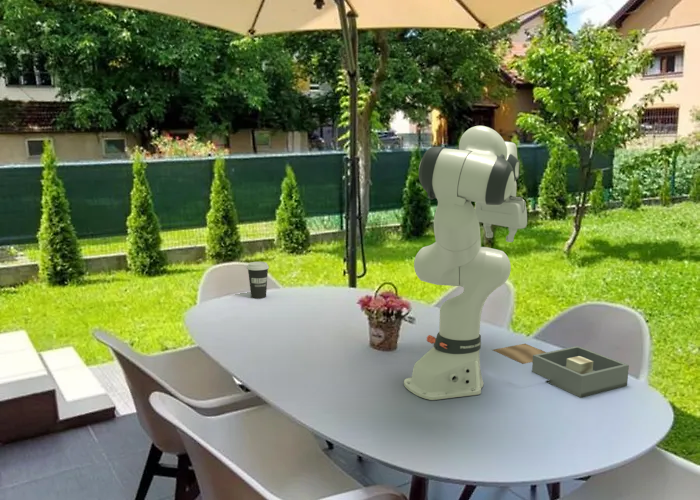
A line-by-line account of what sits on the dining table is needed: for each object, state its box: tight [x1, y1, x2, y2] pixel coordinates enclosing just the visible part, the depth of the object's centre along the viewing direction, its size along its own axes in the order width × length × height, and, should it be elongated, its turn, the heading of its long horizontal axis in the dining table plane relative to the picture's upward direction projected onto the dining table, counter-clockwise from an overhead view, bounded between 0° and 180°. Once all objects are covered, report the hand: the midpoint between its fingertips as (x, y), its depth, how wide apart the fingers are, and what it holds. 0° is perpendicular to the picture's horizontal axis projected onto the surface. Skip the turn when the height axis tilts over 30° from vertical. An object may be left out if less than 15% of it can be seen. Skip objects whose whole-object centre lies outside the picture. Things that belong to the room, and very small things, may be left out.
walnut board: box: [492, 343, 547, 365], centre depth 190 cm, size 14×14×1 cm
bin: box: [531, 345, 630, 399], centre depth 171 cm, size 18×18×6 cm
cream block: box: [566, 356, 593, 374], centre depth 170 cm, size 5×5×5 cm
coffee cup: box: [246, 261, 270, 300], centre depth 263 cm, size 10×10×15 cm
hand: (499, 239), depth 186 cm, fingers open, 8 cm apart
